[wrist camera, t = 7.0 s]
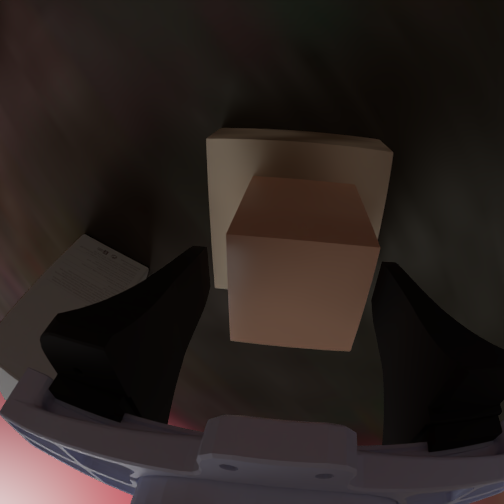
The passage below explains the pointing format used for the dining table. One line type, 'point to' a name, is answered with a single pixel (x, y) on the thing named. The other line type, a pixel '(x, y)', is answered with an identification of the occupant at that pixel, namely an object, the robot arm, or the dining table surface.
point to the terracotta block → (299, 264)
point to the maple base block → (288, 172)
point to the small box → (60, 303)
